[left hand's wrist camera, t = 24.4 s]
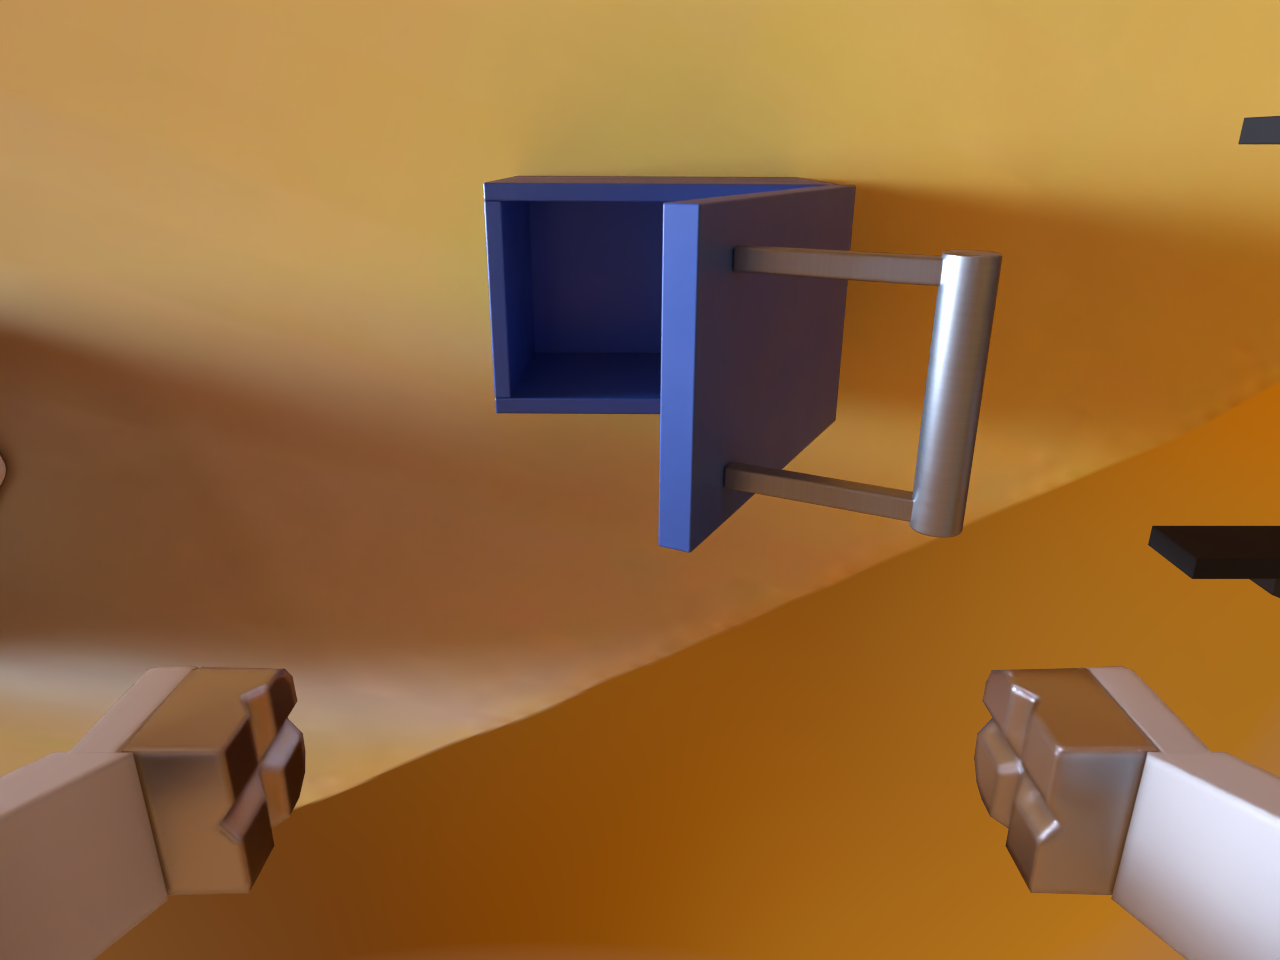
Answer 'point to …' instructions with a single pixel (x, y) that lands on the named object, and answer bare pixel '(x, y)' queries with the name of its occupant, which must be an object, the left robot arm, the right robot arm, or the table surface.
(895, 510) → the lid
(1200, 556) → the right robot arm
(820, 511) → the table surface
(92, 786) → the left robot arm
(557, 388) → the chest
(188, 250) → the table surface
